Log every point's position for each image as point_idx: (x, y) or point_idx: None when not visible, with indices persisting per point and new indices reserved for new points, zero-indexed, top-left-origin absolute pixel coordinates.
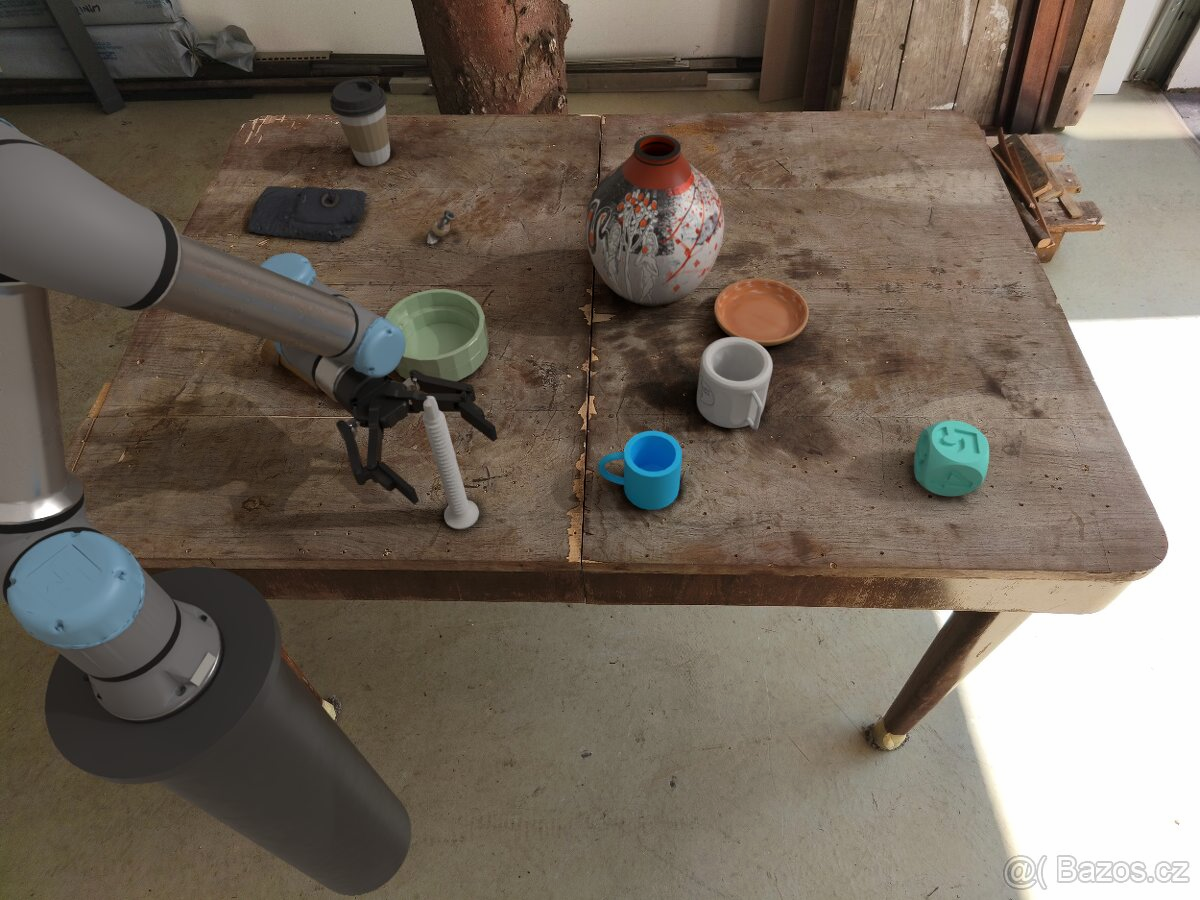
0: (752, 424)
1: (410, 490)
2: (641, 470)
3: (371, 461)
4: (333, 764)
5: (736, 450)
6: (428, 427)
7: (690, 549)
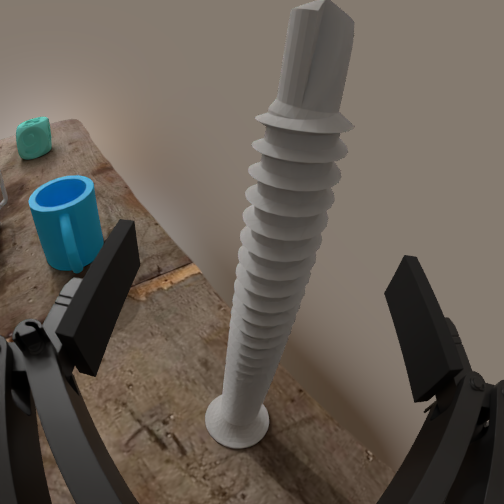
0: (2, 201)
1: (413, 259)
2: (86, 190)
3: (472, 395)
4: None
5: (22, 217)
6: (341, 140)
7: (133, 206)
